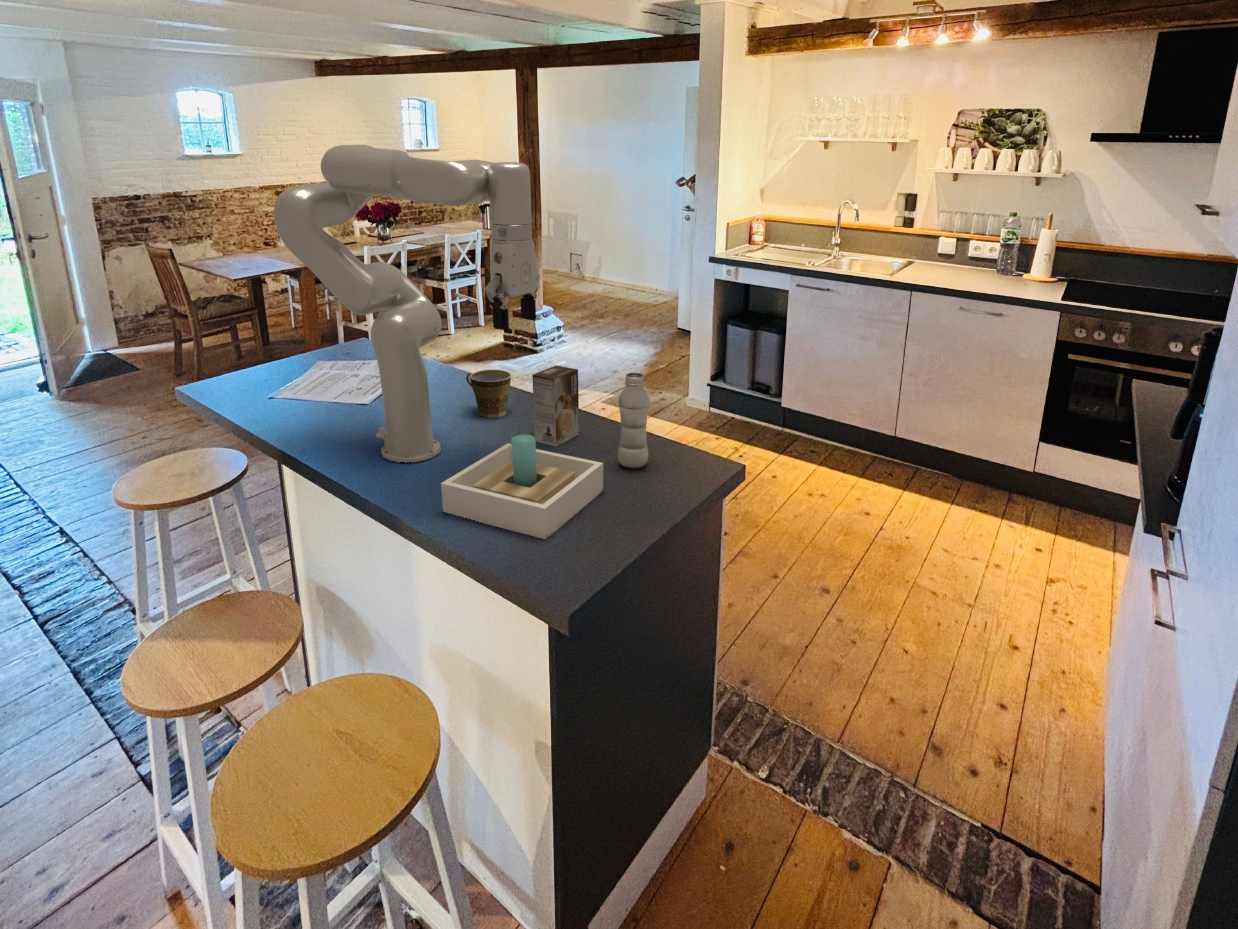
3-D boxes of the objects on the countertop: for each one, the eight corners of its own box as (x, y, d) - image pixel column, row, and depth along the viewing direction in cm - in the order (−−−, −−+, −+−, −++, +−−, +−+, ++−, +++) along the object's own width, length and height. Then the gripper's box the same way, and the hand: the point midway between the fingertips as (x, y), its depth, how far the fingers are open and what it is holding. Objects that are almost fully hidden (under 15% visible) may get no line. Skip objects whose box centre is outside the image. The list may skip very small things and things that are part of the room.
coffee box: (557, 429, 181) (556, 364, 174) (579, 435, 178) (579, 368, 171) (533, 441, 174) (531, 373, 167) (556, 447, 171) (555, 378, 164)
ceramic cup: (520, 412, 192) (519, 373, 188) (494, 423, 184) (492, 384, 180) (481, 402, 198) (479, 365, 194) (454, 413, 190) (451, 374, 186)
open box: (443, 512, 141) (440, 483, 139) (509, 469, 159) (507, 443, 157) (545, 539, 132) (545, 508, 130) (603, 490, 151) (603, 463, 148)
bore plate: (473, 504, 142) (472, 485, 141) (514, 477, 154) (513, 458, 152) (537, 520, 137) (537, 500, 135) (575, 490, 149) (575, 472, 147)
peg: (510, 499, 145) (506, 441, 140) (522, 490, 148) (519, 433, 143) (529, 504, 143) (527, 445, 138) (541, 495, 147) (539, 437, 142)
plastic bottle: (626, 474, 158) (628, 381, 150) (612, 462, 164) (613, 372, 156) (653, 468, 161) (657, 377, 153) (638, 457, 166) (640, 368, 158)
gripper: (502, 239, 134) (506, 335, 141) (552, 229, 148) (554, 317, 155) (467, 236, 137) (473, 331, 143) (519, 227, 151) (522, 313, 158)
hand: (515, 323), depth 149 cm, fingers open, 9 cm apart
